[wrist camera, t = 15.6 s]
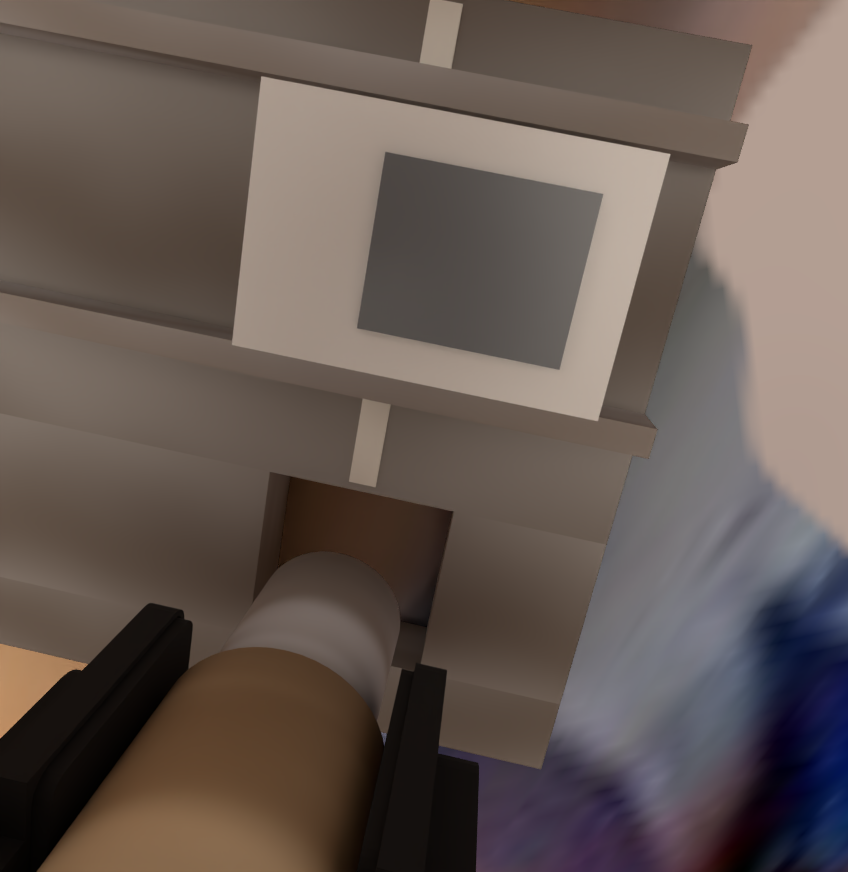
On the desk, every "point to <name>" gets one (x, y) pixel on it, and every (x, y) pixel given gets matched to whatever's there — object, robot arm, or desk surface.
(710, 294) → the desk surface
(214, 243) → the grey ridged panel
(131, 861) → the tan cylinder
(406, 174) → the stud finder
